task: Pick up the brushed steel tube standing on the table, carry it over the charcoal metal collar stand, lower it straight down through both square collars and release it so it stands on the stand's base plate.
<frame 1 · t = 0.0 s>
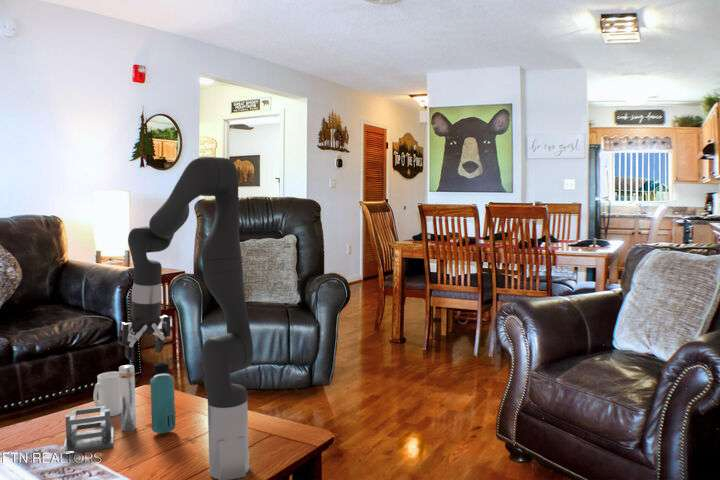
hand: (144, 355, 161), 22 cm above the table, tool pointing down, fingers open, 8 cm apart
collar stand: (89, 442, 158), on the table
mug: (107, 415, 178), on the table
steel tube: (128, 428, 167), on the table
beverage bottle: (163, 434, 163), on the table
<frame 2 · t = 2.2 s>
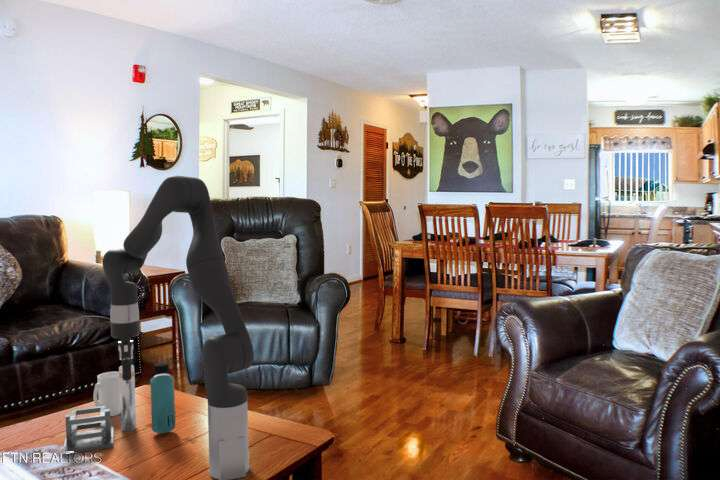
hand: (126, 375, 166), 15 cm above the table, tool pointing down, fingers open, 8 cm apart
nothing on the table moved.
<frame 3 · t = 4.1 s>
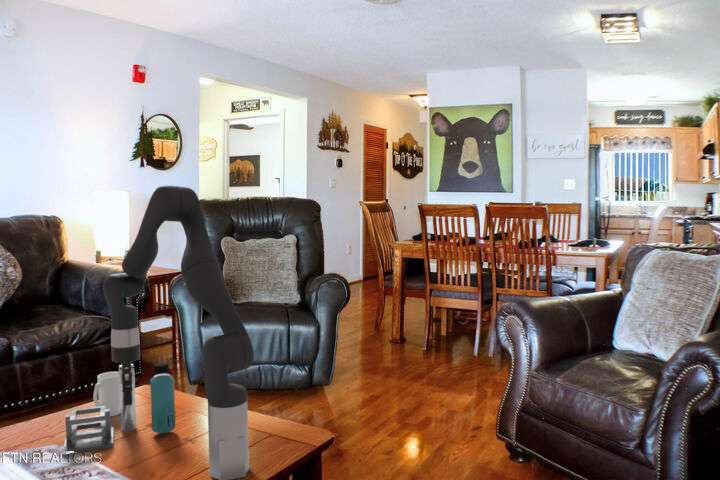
hand: (127, 402, 167), 8 cm above the table, tool pointing down, fingers closed on steel tube, 4 cm apart
steel tube: (128, 428, 167), on the table, touching gripper
everything else where it was.
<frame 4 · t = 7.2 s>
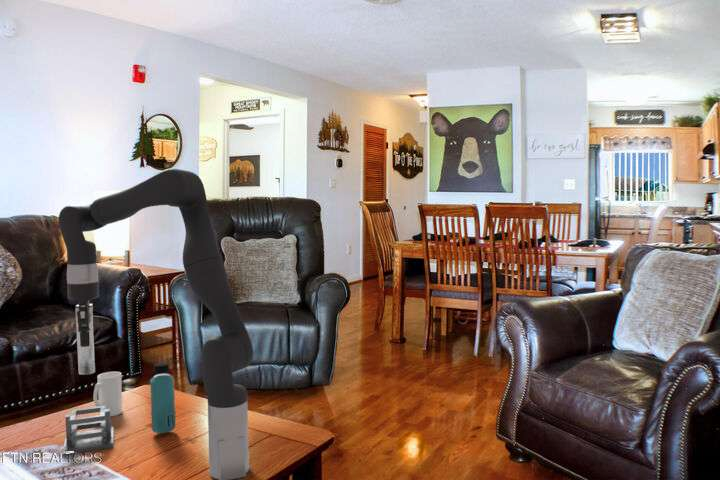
hand: (85, 344, 156), 27 cm above the table, tool pointing down, fingers closed on steel tube, 4 cm apart
steel tube: (86, 372, 156), point 19 cm above the table, touching gripper
everything else where it was.
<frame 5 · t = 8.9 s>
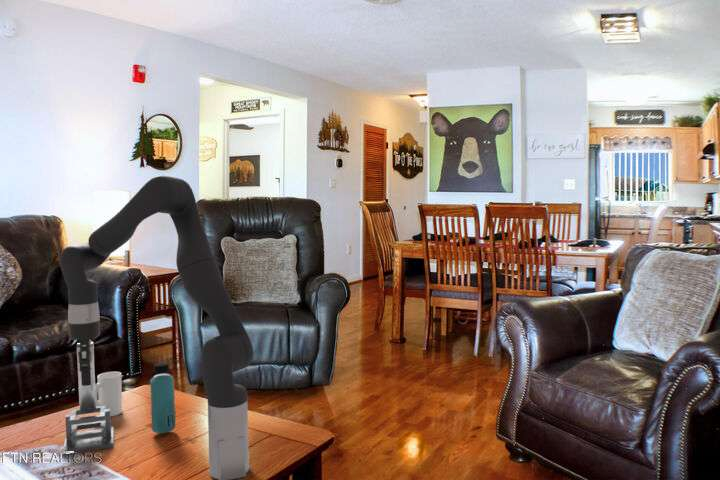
hand: (86, 382, 157), 17 cm above the table, tool pointing down, fingers closed on steel tube, 4 cm apart
steel tube: (88, 410, 157), point 9 cm above the table, touching gripper
everything else where it was.
when the fingers open (11 cm above the table, at t = 10.4 s): steel tube drops 2 cm, resting on collar stand.
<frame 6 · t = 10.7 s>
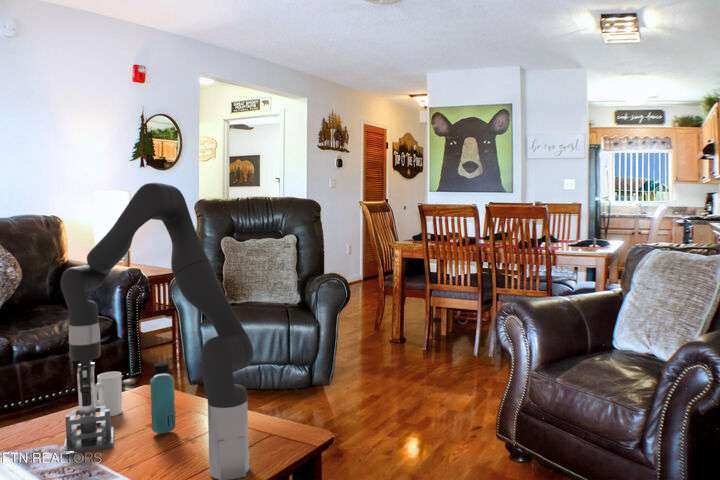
hand: (87, 401, 157), 11 cm above the table, tool pointing down, fingers open, 6 cm apart
steel tube: (89, 438, 158), point 1 cm above the table, touching collar stand
everything else where it was.
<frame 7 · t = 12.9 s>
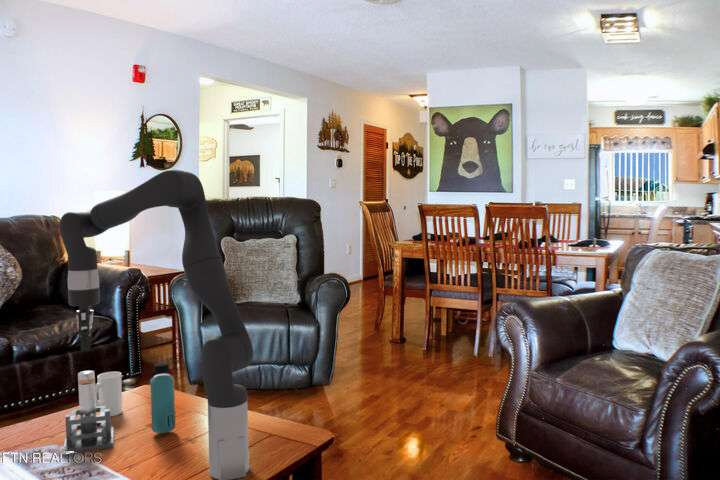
hand: (86, 346, 156), 26 cm above the table, tool pointing down, fingers open, 8 cm apart
nothing on the table moved.
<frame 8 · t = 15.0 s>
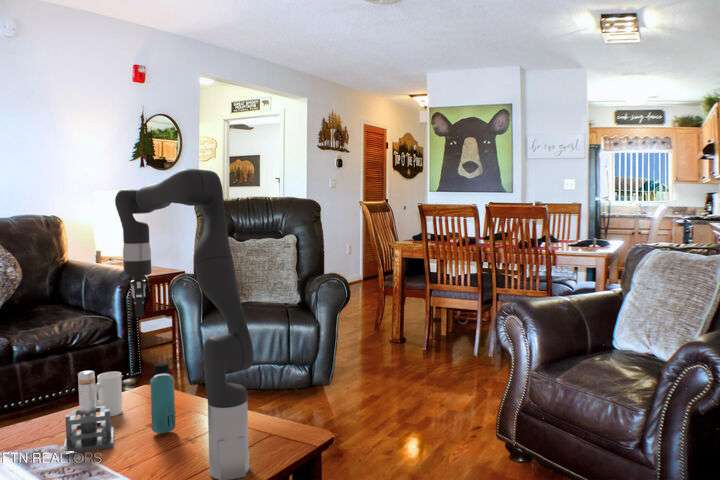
hand: (139, 313, 170), 32 cm above the table, tool pointing down, fingers open, 8 cm apart
nothing on the table moved.
at the end: steel tube 0.1 cm off-centre on the collar stand, point 1.2 cm above the collar stand's base; steel tube tilted 0°; the gripper is holding nothing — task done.
